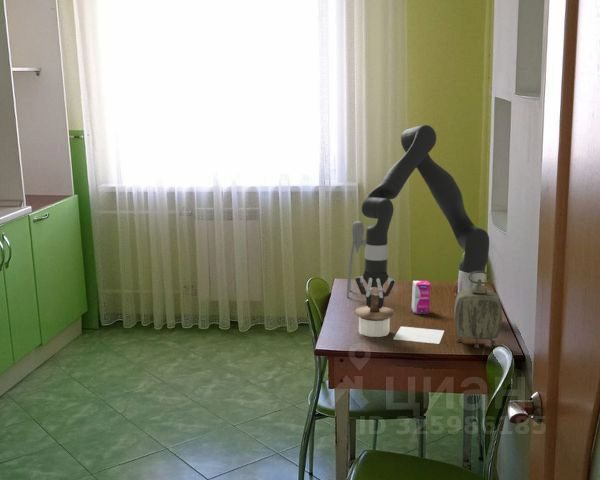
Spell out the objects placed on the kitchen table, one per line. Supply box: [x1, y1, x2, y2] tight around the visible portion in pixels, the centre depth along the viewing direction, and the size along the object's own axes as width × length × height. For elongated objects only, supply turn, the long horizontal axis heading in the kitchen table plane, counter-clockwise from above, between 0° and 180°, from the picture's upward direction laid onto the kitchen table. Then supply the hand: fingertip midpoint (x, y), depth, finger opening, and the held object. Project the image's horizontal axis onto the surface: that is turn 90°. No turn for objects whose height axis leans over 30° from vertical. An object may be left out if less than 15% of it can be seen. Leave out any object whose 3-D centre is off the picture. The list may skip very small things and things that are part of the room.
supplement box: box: [411, 280, 432, 315], centre depth 286 cm, size 6×6×12 cm
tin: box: [453, 279, 458, 301], centre depth 306 cm, size 15×3×8 cm, turn 148°
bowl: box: [358, 317, 391, 338], centre depth 260 cm, size 10×10×6 cm
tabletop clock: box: [453, 270, 503, 349], centre depth 245 cm, size 14×9×25 cm, turn 81°
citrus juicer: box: [346, 220, 373, 298], centre depth 309 cm, size 11×10×30 cm
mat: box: [393, 325, 445, 345], centre depth 258 cm, size 15×15×1 cm
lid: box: [355, 293, 395, 320], centre depth 258 cm, size 13×13×6 cm
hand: (374, 307), depth 258 cm, fingers closed on lid, 3 cm apart
